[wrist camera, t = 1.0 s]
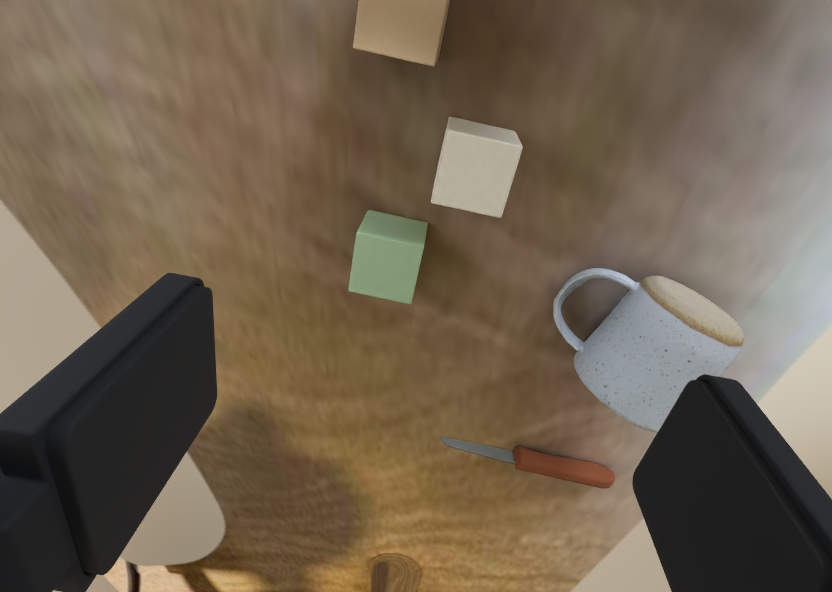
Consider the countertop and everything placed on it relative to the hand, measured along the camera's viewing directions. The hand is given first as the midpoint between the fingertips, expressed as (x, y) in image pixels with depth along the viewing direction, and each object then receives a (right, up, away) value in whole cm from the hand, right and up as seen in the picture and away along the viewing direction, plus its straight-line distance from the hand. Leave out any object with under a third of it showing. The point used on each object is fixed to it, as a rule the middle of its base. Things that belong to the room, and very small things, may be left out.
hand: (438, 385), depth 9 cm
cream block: (+3, +11, +21) cm, 23 cm away
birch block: (-1, +18, +17) cm, 25 cm away
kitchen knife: (+9, -12, +33) cm, 37 cm away
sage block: (-2, +5, +24) cm, 25 cm away
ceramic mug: (+15, 0, +26) cm, 30 cm away
